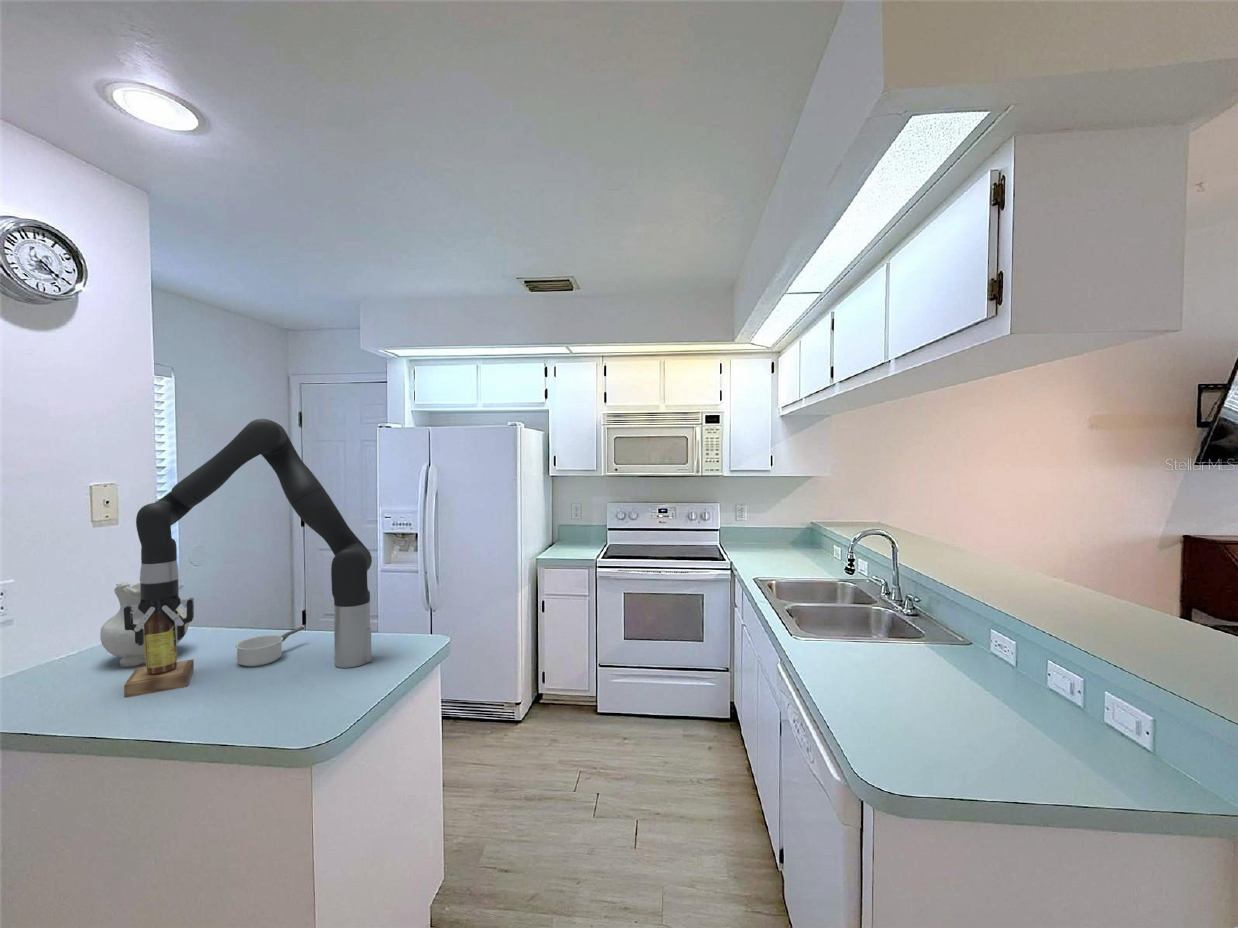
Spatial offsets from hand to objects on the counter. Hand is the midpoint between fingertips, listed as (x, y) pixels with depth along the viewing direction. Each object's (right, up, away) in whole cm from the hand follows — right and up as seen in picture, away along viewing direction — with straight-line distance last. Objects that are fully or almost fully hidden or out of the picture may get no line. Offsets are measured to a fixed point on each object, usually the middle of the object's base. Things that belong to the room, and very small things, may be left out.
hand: (160, 641), depth 140 cm
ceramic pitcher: (-19, -10, +18) cm, 28 cm away
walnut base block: (0, -11, 0) cm, 11 cm away
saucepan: (+17, -11, +19) cm, 28 cm away
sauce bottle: (0, -8, 0) cm, 8 cm away
